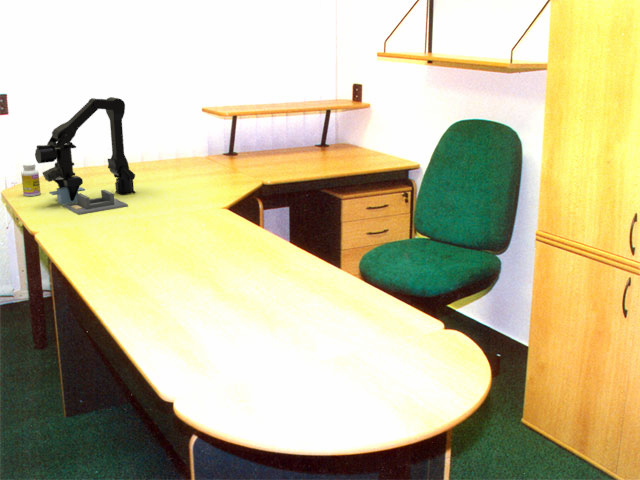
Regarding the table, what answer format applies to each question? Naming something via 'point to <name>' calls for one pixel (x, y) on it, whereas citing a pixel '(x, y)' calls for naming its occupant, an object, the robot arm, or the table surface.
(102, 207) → the chassis plate
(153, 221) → the table surface
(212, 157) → the table surface
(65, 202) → the block
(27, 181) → the supplement bottle
